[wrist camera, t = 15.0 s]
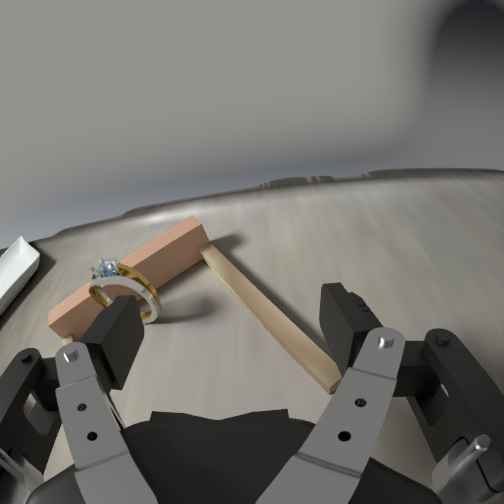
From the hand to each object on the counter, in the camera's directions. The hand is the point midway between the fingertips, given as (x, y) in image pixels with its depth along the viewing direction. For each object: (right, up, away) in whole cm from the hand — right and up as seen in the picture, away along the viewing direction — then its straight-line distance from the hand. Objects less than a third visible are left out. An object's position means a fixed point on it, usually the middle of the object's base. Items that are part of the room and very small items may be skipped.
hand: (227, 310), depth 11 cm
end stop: (-12, -2, +18) cm, 21 cm away
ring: (-10, -5, +15) cm, 18 cm away
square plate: (-54, -7, +30) cm, 62 cm away
